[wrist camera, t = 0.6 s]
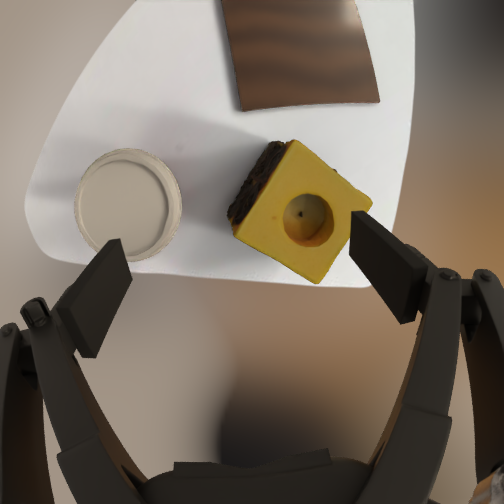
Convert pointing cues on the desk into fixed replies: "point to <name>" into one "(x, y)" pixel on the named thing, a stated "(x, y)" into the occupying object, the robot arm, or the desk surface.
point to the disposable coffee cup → (128, 203)
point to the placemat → (299, 53)
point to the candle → (296, 209)
